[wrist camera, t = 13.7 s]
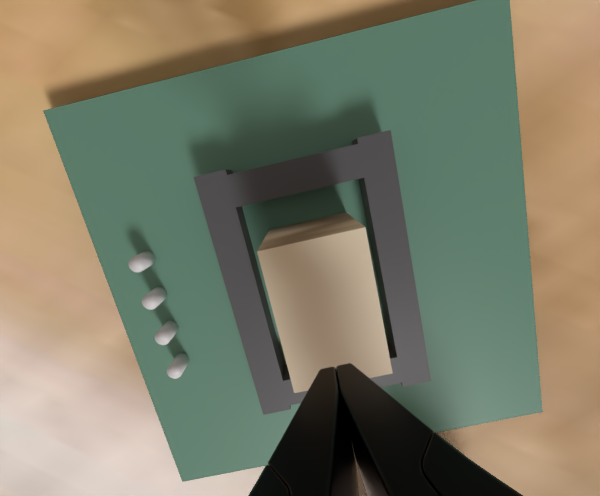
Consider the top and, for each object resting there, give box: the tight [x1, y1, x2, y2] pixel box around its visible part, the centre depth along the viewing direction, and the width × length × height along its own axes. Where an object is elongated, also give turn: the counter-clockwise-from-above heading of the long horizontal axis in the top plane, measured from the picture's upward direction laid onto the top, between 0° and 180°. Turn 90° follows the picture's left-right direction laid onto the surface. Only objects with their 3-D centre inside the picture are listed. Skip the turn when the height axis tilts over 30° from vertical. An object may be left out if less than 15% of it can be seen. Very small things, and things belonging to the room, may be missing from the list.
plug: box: [257, 212, 393, 393], centre depth 15 cm, size 4×7×5 cm, turn 13°
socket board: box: [44, 0, 542, 482], centre depth 17 cm, size 22×22×2 cm
